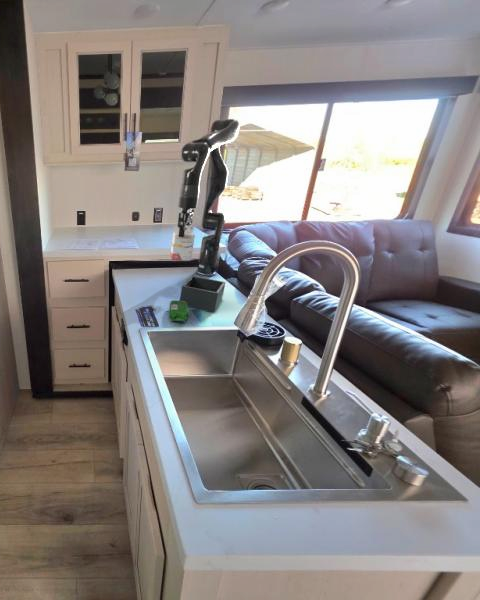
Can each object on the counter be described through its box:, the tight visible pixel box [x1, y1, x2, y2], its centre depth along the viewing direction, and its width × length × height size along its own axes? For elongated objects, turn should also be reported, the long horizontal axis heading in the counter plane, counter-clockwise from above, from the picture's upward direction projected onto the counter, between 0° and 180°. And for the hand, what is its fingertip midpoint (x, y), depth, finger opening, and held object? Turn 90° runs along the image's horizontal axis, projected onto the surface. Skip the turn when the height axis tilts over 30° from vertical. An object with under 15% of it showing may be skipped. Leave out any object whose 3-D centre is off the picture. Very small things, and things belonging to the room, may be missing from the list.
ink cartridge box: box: [169, 224, 196, 262], centre depth 140 cm, size 9×5×15 cm, turn 84°
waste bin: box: [179, 275, 226, 314], centre depth 138 cm, size 16×15×9 cm
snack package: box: [168, 300, 189, 322], centre depth 125 cm, size 7×16×5 cm, turn 165°
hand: (183, 235), depth 138 cm, fingers closed on ink cartridge box, 6 cm apart
